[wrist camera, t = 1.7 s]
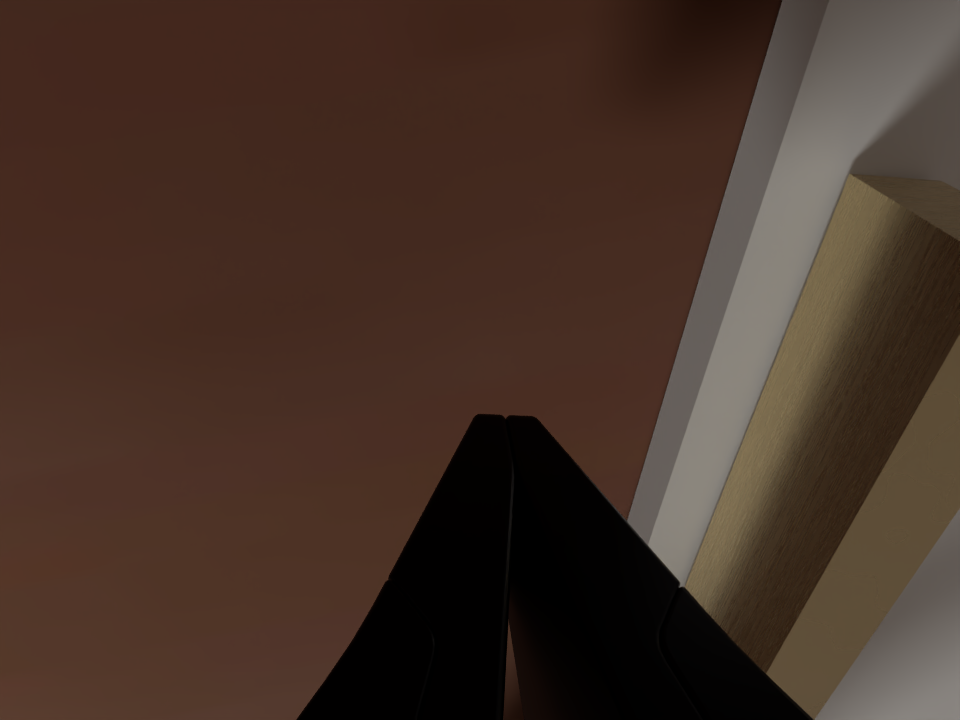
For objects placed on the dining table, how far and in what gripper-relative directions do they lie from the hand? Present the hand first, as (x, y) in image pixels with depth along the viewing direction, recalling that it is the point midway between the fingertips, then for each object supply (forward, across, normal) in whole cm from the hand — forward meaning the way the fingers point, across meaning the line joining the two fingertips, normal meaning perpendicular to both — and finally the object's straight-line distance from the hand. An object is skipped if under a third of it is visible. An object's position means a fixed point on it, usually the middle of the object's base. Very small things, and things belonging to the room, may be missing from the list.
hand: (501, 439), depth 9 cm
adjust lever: (+3, -7, +5) cm, 9 cm away
